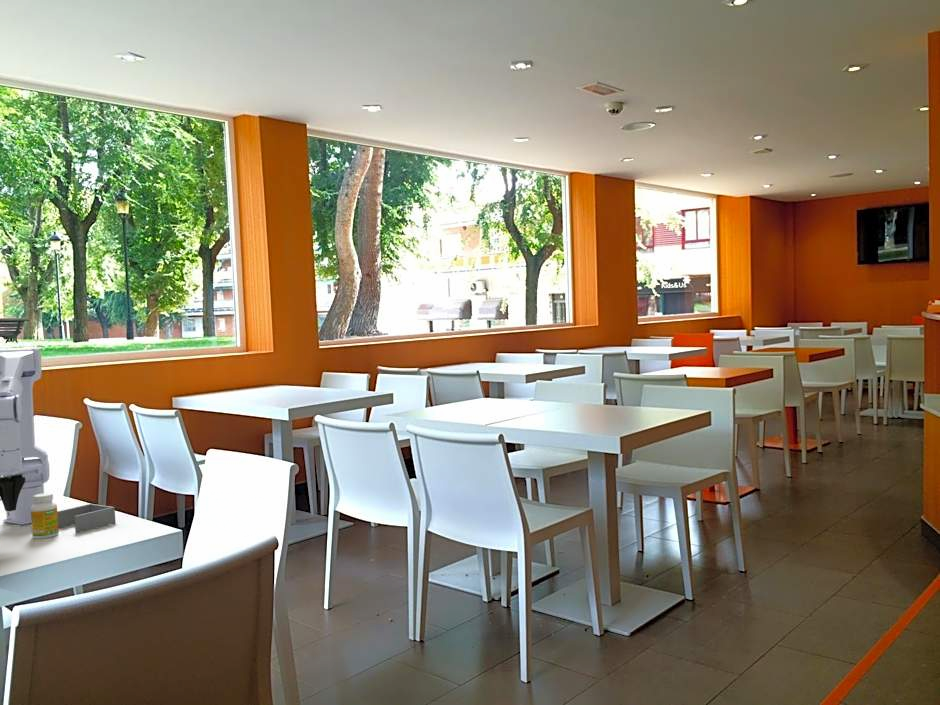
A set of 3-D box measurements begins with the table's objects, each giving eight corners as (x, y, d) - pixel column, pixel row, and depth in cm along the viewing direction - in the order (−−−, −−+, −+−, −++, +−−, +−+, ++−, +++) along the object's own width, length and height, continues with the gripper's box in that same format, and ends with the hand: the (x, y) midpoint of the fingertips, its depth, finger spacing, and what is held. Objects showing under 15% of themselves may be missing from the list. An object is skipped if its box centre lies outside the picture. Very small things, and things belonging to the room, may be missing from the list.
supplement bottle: (47, 539, 183) (44, 497, 183) (27, 539, 184) (24, 497, 184) (63, 533, 188) (61, 492, 188) (44, 532, 190) (41, 492, 189)
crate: (53, 528, 193) (52, 512, 193) (92, 519, 201) (91, 503, 201) (76, 533, 188) (75, 516, 187) (115, 523, 196) (114, 507, 196)
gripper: (-19, 456, 171) (-15, 519, 171) (48, 446, 183) (51, 504, 184) (-35, 454, 175) (-31, 516, 175) (31, 444, 187) (35, 502, 187)
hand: (10, 510), depth 180 cm, fingers closed
